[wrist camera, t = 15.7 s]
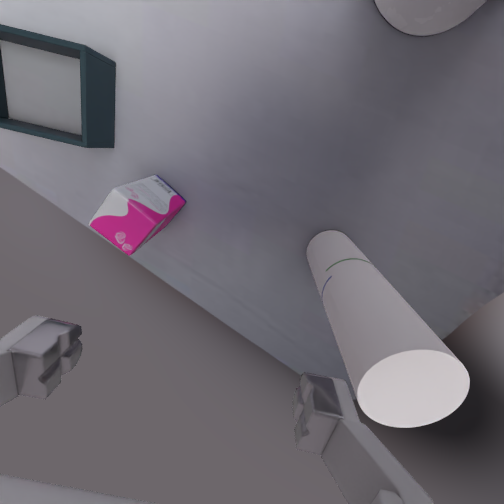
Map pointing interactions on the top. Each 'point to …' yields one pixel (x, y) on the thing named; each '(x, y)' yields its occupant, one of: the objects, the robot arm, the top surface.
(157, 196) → the supplement box
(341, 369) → the top surface
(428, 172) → the top surface
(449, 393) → the cylindrical container
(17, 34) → the case
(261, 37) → the top surface
